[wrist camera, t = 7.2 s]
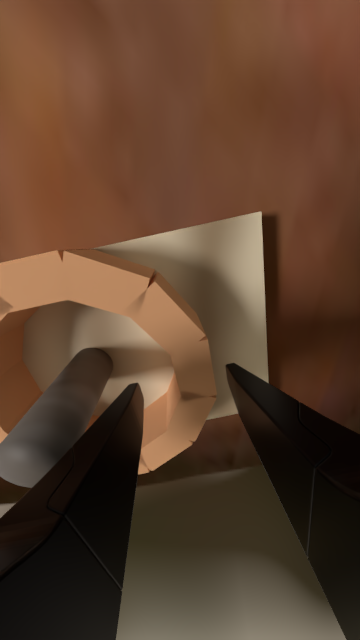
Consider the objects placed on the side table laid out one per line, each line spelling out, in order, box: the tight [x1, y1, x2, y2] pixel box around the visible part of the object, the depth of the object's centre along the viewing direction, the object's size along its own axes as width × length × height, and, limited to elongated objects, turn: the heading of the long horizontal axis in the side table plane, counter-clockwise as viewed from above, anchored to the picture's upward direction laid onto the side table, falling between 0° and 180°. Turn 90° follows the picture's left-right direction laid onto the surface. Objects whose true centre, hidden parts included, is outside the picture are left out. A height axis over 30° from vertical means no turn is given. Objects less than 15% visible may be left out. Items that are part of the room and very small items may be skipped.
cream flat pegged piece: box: [0, 212, 269, 488], centre depth 10 cm, size 19×13×8 cm
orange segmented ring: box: [0, 249, 217, 474], centre depth 11 cm, size 13×13×3 cm
